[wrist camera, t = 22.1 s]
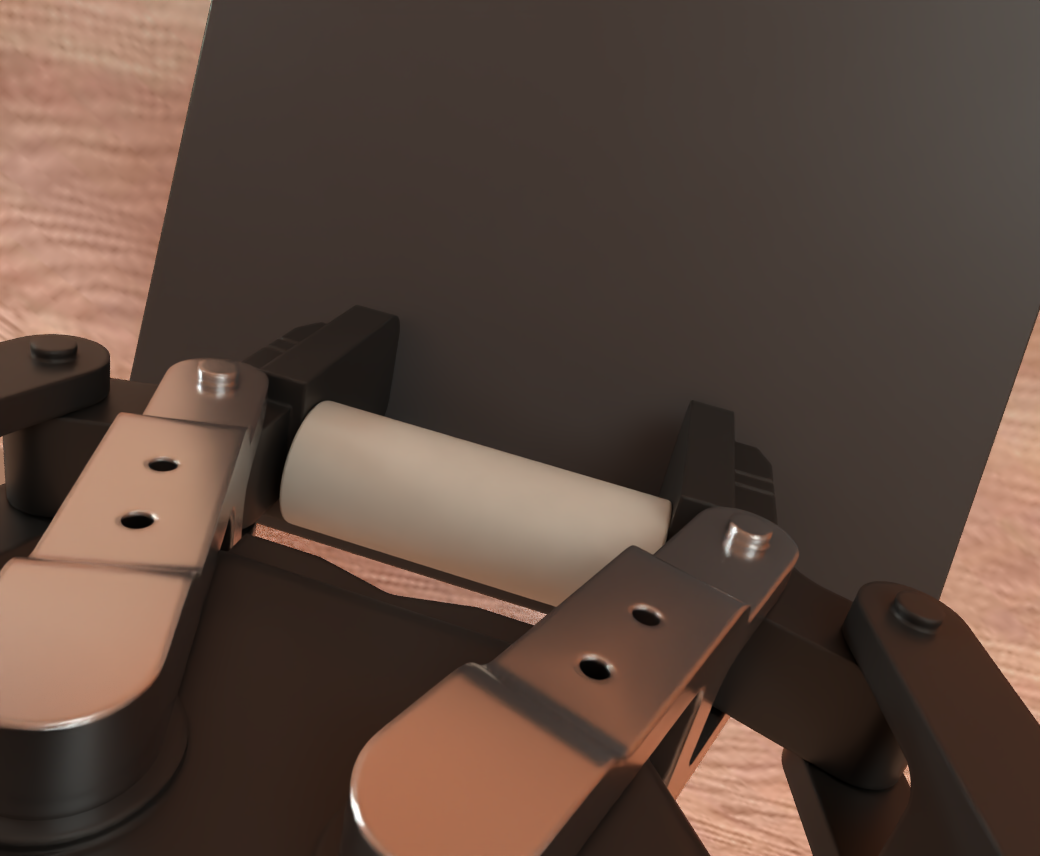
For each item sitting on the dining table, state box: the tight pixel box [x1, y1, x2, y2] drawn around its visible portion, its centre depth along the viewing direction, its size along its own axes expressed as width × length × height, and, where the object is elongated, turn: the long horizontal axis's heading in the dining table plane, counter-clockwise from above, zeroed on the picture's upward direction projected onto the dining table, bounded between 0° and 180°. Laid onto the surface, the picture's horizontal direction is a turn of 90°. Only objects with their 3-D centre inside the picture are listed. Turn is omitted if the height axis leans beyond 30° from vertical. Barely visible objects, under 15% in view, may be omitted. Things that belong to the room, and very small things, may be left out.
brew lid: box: [130, 0, 1040, 614], centre depth 13 cm, size 17×15×5 cm
